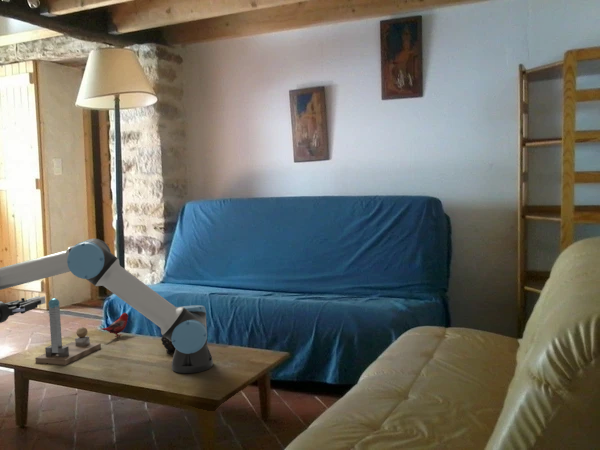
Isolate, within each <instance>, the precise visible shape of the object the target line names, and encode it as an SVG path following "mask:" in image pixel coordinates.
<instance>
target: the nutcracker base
mask: <svg viewBox="0 0 600 450" xmlns="http://www.w3.org/2000/svg"><path fill="white" fill-rule="evenodd" d="M75 332H76V336H77V337H75V338H74V341H71V342H69V343H67V344H65V345H62V347H60V348H58V355H56V354H53V353H52V347H51V345H48V346H46V347H44V351H45V353H43V354H41V355H39V356H36V357H35V364H46V363H48V365H59V366H60V365H65V366H66V365H69V364H70V363H73V362H75V361H77V360H79V359H82V358H84V357H86V356H87V355H90V354H91V353H94V352H95V351H97V350H100V349H101V348H102V347H101V344H102V343H100V342H98V343H97V342H91V341H90V335H88V328H86V327H85V326H80V327H78V328H77V329H76V331H75ZM87 335H88V336H87Z"/></svg>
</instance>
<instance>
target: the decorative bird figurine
mask: <svg viewBox="0 0 600 450" xmlns="http://www.w3.org/2000/svg"><path fill="white" fill-rule="evenodd" d="M129 316H130V315H128V313H127V312H123V313H122V314H121V315H120V316H119V318H118V319H116V320H114V321H113V322H112V323H111V324H110V325H109V326H108V327H102V328H99V330H100V331H101V330H102V331H106V332H108V333H110V334H114V335H115V336H114V338H116V337H117V338H118V337H121V336H122V335H123V333H122V332H123V331H124V330H125V328H126V326H127V323H128V318H129ZM120 333H121V334H120Z"/></svg>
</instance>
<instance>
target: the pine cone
mask: <svg viewBox="0 0 600 450" xmlns="http://www.w3.org/2000/svg"><path fill="white" fill-rule="evenodd" d="M160 340H161V344H162V345H163V346H164V348H165V351H166V353H167V354H171V355H174V352H175V349H176V348H175V347H174V345H173V344H172V342H171V341H170V340H169V339H167V338H166V337H165V336H163V335H162V336H161V338H160Z"/></svg>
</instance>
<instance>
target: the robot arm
mask: <svg viewBox="0 0 600 450" xmlns="http://www.w3.org/2000/svg"><path fill="white" fill-rule="evenodd" d="M120 264H121V263H120V260H119V258H118V257H117V255H115V254H112V251H111V249H110V246H109V245H108V244H107V243H106V242H105V241H103V240H101V239H99V238H89V239H86V240H84V241H81V242H78V243H77V244H75V245H71V246H69V247H68V248H67V249H66V250H63V251H58V252H56V253H52V254H48V255H43V256H41V257H40V256H39V257H36V258H33V259H29V260H26V261H25V260H24V261H21V262H18V263H14V264H11V265H9V264H8V265H7V266H3V267H2V266H1V267H0V291H2V290H6V289H9V288H10V289H11V288H12V287H17V286H21V285H24V284H29V283H32V282H36V281H40V280H44V279H49V278H50V277H55V276H59V275H62V274H66V273H70V272H71V273H72V275H74V277H77V278H79V279H82V280H87V281H88V282H89V283H90V284H92V285H93V286H95V287H101V286H102V287H103V288H106V289H107V290H109V291H110V292H111V293H113V294H114V295H115V296H116V297H117V298H119V299H121V300H122V301H123V302H125V303H126V304H128V305H129V306H130V307H131V308H132V309H134V310H136V311H137V312H138V313H139V314H141V315H142V316H144V317H145V318H146V319H148V320H149V321H151V322H152V323H153V324H154V325H156V327H159V328H160V332H161V333H160V334H161V335H162V337H163V336H165V337H166V338H167V339H169V340H170V341H171V342H172V344H173V345H174V347H175V348H176V349H175V352H174V354H173V357H172V361H171V370H172V371H173V372H175V373H178V374H195V373H200V372H204V371H207V370H209V369H211V368H212V367H213V365H214V363H213V362H214V361H213V360H214V359H213V355H212V354H211V351H210V349H209V346H208V330H207V329H208V327H207V311H206V307H205V305H197V304H196V305H184V306H183V305H182V306H175V305H174V304H173V303H171V302H169V301H168V300H167V299H165V298H164V297H163V296H161V295H160V294H159V293H158V292H157V291H155V290H154V289H152V288H151V287H150V286H148V285H147V284H146V283H144V282H143V281H141V280H140V279H139V278H138V277H136V276H135V275H133V273H131V272H129V271H128V270H127V269H125V268H124V267H122V266H121V265H120ZM46 303H47V302H46V295H42V296H40V295H37V296H33V297H30V298H27V299H26V298H25V297H22V298H20V300H19V299H17V300H13V301H9V302H3V301H0V324H2V323H5V322H6V321H7V320H8V319H9V318H10V316H14V315H16V314H22V315H23V314H26V312H29V311H31V310H36V309H37V308H38V306H41V305H45V304H46Z"/></svg>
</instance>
